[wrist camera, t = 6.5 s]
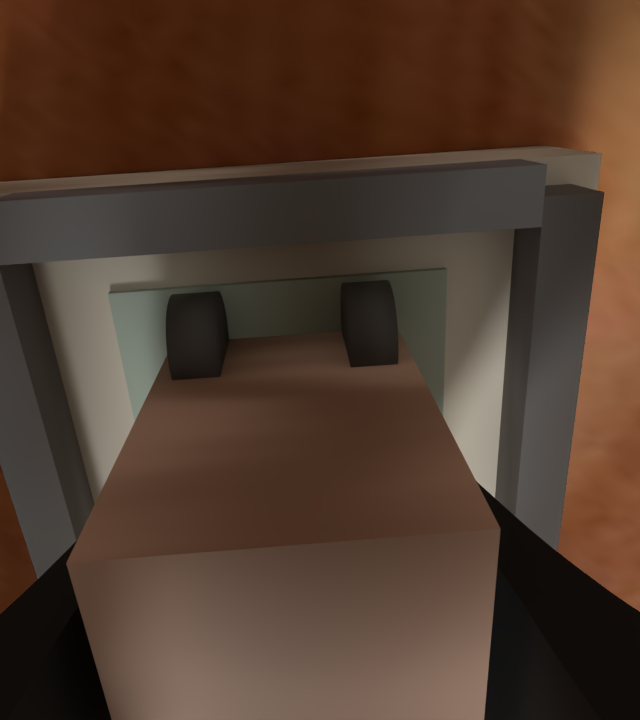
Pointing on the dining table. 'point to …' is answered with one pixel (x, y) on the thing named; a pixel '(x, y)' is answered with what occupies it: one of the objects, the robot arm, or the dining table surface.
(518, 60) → the dining table surface
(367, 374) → the wooden trolley
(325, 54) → the dining table surface
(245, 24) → the dining table surface
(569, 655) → the robot arm
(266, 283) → the dock
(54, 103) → the dining table surface
